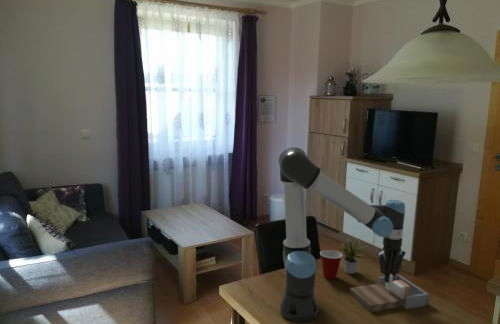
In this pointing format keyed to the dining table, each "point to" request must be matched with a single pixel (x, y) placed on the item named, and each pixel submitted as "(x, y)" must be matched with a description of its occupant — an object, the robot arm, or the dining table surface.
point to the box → (411, 293)
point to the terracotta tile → (407, 288)
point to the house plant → (351, 257)
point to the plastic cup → (330, 263)
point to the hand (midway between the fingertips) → (388, 288)
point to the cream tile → (398, 289)
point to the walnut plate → (376, 297)
